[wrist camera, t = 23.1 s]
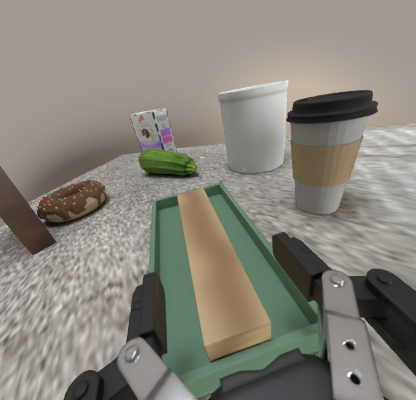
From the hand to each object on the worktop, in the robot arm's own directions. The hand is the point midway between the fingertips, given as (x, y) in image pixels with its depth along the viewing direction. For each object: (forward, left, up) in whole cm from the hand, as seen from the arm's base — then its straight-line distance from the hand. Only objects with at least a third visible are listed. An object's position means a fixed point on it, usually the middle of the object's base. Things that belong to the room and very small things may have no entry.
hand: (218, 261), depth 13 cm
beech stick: (+5, +6, -7) cm, 11 cm away
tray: (+6, +8, -8) cm, 13 cm away
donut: (+4, +44, -8) cm, 45 cm away
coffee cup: (+22, -2, -8) cm, 24 cm away
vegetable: (+26, +36, -8) cm, 45 cm away
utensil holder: (+37, +15, -8) cm, 41 cm away
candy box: (+36, +52, -8) cm, 64 cm away
